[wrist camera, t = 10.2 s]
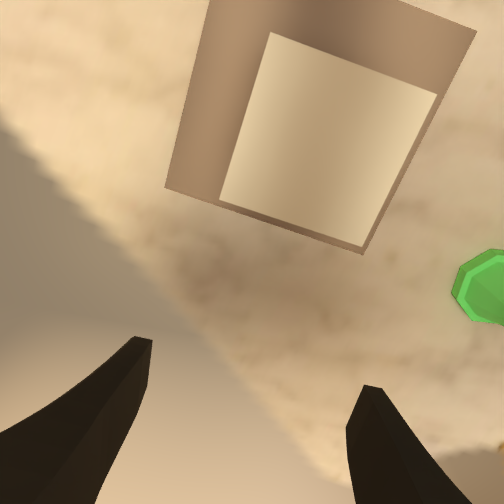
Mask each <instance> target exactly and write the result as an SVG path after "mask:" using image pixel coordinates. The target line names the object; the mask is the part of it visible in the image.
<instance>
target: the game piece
mask: <svg viewBox="0 0 504 504" xmlns="http://www.w3.org/2000/svg"><path fill="white" fill-rule="evenodd" d="M451 293H452V295H453V296H454V297H455V299H456V300H457V301H458V303H459V304H460V306H461V307H462V308H463V310H464V311H465V312H466V314H467V315H468V316H469V318H470V319H471V320H472V321H479V322H488V323H497V324H500V325H502V326H504V250H496V249H489V250H487V251H486V252H484V253H482V254H481V255H479V256H477V257H475V258H474V259H472V260H470V261H469V262H467V263H465V264H464V265H462V266H460V269H459V272H458V275H457V278H456V281H455V283H454V286H453V289H452V292H451Z"/></svg>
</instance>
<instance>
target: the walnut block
mask: <svg viewBox="0 0 504 504" xmlns="http://www.w3.org/2000/svg"><path fill="white" fill-rule="evenodd" d="M270 32H272V33H275V34H277V35H280V36H283V37H285V38H288V39H291V40H293V41H296V42H299V43H301V44H304V45H307V46H309V47H312V48H315V49H317V50H320V51H323V52H325V53H328V54H331V55H333V56H336V57H339V58H341V59H344V60H347V61H349V62H352V63H355V64H357V65H360V66H363V67H365V68H368V69H371V70H373V71H376V72H379V73H381V74H384V75H387V76H389V77H392V78H395V79H397V80H400V81H403V82H405V83H408V84H411V85H413V86H416V87H419V88H421V89H424V90H427V91H429V92H432V93H435V94H437V96H436V98H435V100H434V102H433V104H432V106H431V108H430V110H429V112H428V114H427V116H426V118H425V120H424V122H423V124H422V126H421V128H420V130H419V133H418V135H417V137H416V139H415V141H414V143H413V145H412V147H411V149H410V151H409V153H408V155H407V157H406V159H405V161H404V163H403V165H402V167H401V169H400V171H399V173H398V175H397V177H396V179H395V181H394V183H393V185H392V187H391V189H390V191H389V193H388V195H387V197H386V199H385V201H384V203H383V205H382V207H381V209H380V211H379V213H378V215H377V218H376V220H375V222H374V224H373V226H372V228H371V230H370V232H369V234H368V236H367V238H366V240H365V242H364V244H363V246H362V247H360V246H357V245H354V244H351V243H348V242H345V241H342V240H339V239H336V238H333V237H330V236H327V235H324V234H321V233H318V232H315V231H312V230H309V229H306V228H303V227H300V226H297V225H294V224H291V223H288V222H285V221H282V220H279V219H276V218H273V217H270V216H267V215H264V214H261V213H258V212H255V211H252V210H249V209H246V208H243V207H240V206H237V205H234V204H231V203H228V202H225V201H222V200H219V198H220V195H221V191H222V188H223V185H224V182H225V178H226V175H227V172H228V169H229V165H230V162H231V159H232V156H233V152H234V149H235V146H236V142H237V139H238V136H239V133H240V129H241V126H242V123H243V120H244V116H245V113H246V110H247V107H248V103H249V100H250V97H251V94H252V90H253V87H254V84H255V81H256V77H257V74H258V71H259V68H260V64H261V61H262V58H263V55H264V51H265V48H266V45H267V42H268V38H269V35H270ZM476 33H477V31H476V30H473V29H471V28H468V27H465V26H463V25H460V24H458V23H455V22H453V21H450V20H448V19H445V18H443V17H440V16H437V15H435V14H432V13H430V12H427V11H425V10H422V9H420V8H417V7H414V6H412V5H409V4H407V3H404V2H402V1H399V0H210V2H209V6H208V10H207V14H206V18H205V22H204V27H203V31H202V35H201V39H200V43H199V47H198V51H197V55H196V60H195V64H194V68H193V72H192V76H191V80H190V84H189V88H188V93H187V97H186V101H185V105H184V109H183V113H182V117H181V121H180V126H179V130H178V134H177V138H176V142H175V146H174V150H173V154H172V159H171V163H170V167H169V171H168V175H167V179H166V183H165V187H164V188H167V189H170V190H173V191H176V192H179V193H181V194H184V195H187V196H190V197H193V198H196V199H199V200H202V201H205V202H208V203H211V204H214V205H217V206H220V207H223V208H226V209H229V210H232V211H235V212H237V213H240V214H243V215H246V216H249V217H252V218H255V219H258V220H261V221H264V222H267V223H270V224H273V225H276V226H279V227H282V228H285V229H288V230H290V231H293V232H296V233H299V234H302V235H305V236H308V237H311V238H314V239H317V240H320V241H323V242H326V243H329V244H332V245H335V246H338V247H341V248H343V249H346V250H349V251H352V252H355V253H358V254H361V255H363V254H364V252H365V250H366V249H367V247H368V245H369V243H370V241H371V239H372V237H373V235H374V233H375V231H376V229H377V227H378V225H379V223H380V221H381V219H382V217H383V215H384V213H385V211H386V209H387V207H388V205H389V203H390V201H391V200H392V198H393V196H394V194H395V192H396V190H397V188H398V186H399V184H400V182H401V180H402V178H403V176H404V174H405V172H406V170H407V168H408V166H409V164H410V162H411V160H412V158H413V156H414V154H415V152H416V150H417V149H418V147H419V145H420V143H421V141H422V139H423V137H424V135H425V133H426V131H427V129H428V127H429V125H430V123H431V121H432V119H433V117H434V115H435V113H436V111H437V109H438V107H439V105H440V103H441V101H442V100H443V98H444V96H445V94H446V92H447V90H448V88H449V86H450V84H451V82H452V80H453V78H454V76H455V74H456V72H457V70H458V68H459V66H460V64H461V62H462V60H463V58H464V56H465V54H466V52H467V50H468V49H469V47H470V45H471V43H472V41H473V39H474V37H475V35H476Z"/></svg>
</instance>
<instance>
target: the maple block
mask: <svg viewBox="0 0 504 504" xmlns="http://www.w3.org/2000/svg"><path fill="white" fill-rule="evenodd" d="M436 96H437V94H435V93H432V92H429V91H427V90H424V89H421V88H419V87H416V86H413V85H411V84H408V83H405V82H403V81H400V80H397V79H395V78H392V77H389V76H387V75H384V74H381V73H379V72H376V71H373V70H371V69H368V68H365V67H363V66H360V65H357V64H355V63H352V62H349V61H347V60H344V59H341V58H339V57H336V56H333V55H331V54H328V53H325V52H323V51H320V50H317V49H315V48H312V47H309V46H307V45H304V44H301V43H299V42H296V41H293V40H291V39H288V38H285V37H283V36H280V35H277V34H275V33H272V32H270V35H269V38H268V42H267V45H266V48H265V51H264V55H263V58H262V61H261V64H260V68H259V71H258V74H257V77H256V81H255V84H254V87H253V90H252V94H251V97H250V100H249V103H248V107H247V110H246V113H245V116H244V120H243V123H242V126H241V129H240V133H239V136H238V139H237V142H236V146H235V149H234V152H233V156H232V159H231V162H230V165H229V169H228V172H227V175H226V178H225V182H224V185H223V188H222V191H221V195H220V198H219V200H222V201H225V202H228V203H231V204H234V205H237V206H240V207H243V208H246V209H249V210H252V211H255V212H258V213H261V214H264V215H267V216H270V217H273V218H276V219H279V220H282V221H285V222H288V223H291V224H294V225H297V226H300V227H303V228H306V229H309V230H312V231H315V232H318V233H321V234H324V235H327V236H330V237H333V238H336V239H339V240H342V241H345V242H348V243H351V244H354V245H357V246H360V247H362V246H363V244H364V242H365V240H366V238H367V236H368V234H369V232H370V230H371V228H372V226H373V224H374V222H375V220H376V218H377V215H378V213H379V211H380V209H381V207H382V205H383V203H384V201H385V199H386V197H387V195H388V193H389V191H390V189H391V187H392V185H393V183H394V181H395V179H396V177H397V175H398V173H399V171H400V169H401V167H402V165H403V163H404V161H405V159H406V157H407V155H408V153H409V151H410V149H411V147H412V145H413V143H414V141H415V139H416V137H417V135H418V133H419V130H420V128H421V126H422V124H423V122H424V120H425V118H426V116H427V114H428V112H429V110H430V108H431V106H432V104H433V102H434V100H435V98H436Z"/></svg>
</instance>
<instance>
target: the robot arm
mask: <svg viewBox="0 0 504 504" xmlns="http://www.w3.org/2000/svg"><path fill="white" fill-rule="evenodd" d="M151 349H152V340H150V339H145V338H141V337H136V336H134V337H132V338H131V339H130V340H129V341H128V342H127V343H126V344H124V346H122V348H120V349H119V350H118V351H117V352H116V353H115V354H114V355H113V356H112V357H110V358H109V359H108V360H107V361H106V362H105V363H103V364H102V365H101V366H100V367H99V368H97V369H96V370H95V371H94V372H93V373H91V374H90V375H89V376H88V377H86V378H85V379H84V380H82V381H81V382H80V383H78V384H77V385H76V386H74V387H73V388H72V389H70V390H69V391H68V392H66V393H65V394H63V395H62V396H61V397H59V398H58V399H56V400H55V401H53V402H52V403H50V404H49V405H47V406H46V407H44V408H42V409H41V410H39V411H38V412H36V413H34V414H33V415H31V416H29V417H27V418H26V419H24V420H22V421H21V422H19V423H17V424H15V425H14V426H12V427H10V428H8V429H6V430H4V431H2V432H1V433H0V504H95V501H96V499H97V496H98V494H99V491H100V489H101V487H102V485H103V483H104V480H105V478H106V476H107V474H108V472H109V470H110V468H111V466H112V464H113V462H114V460H115V458H116V456H117V454H118V452H119V449H120V448H121V446H122V444H123V442H124V440H125V438H126V436H127V434H128V432H129V430H130V428H131V426H132V423H133V421H134V419H135V417H136V415H137V413H138V410H139V407H140V404H141V402H142V399H143V396H144V393H145V391H146V388H147V382H148V375H149V366H150V358H151ZM346 444H347V458H348V464H349V470H350V475H351V481H352V486H353V492H354V497H355V502H356V504H472V503H471V502H470V501H469V500H468V499H467V498H466V497H465V495H464V494H463V493H462V492H461V491H460V490H459V489H458V488H457V487H456V486H455V484H454V483H453V482H452V481H451V480H450V479H449V477H448V476H447V475H446V474H445V473H444V471H443V470H442V469H441V468H440V467H439V465H438V464H437V463H436V462H435V460H434V459H433V458H432V457H431V455H430V454H429V453H428V452H427V450H426V449H425V448H424V446H423V445H422V444H421V442H420V441H419V440H418V438H417V437H416V436H415V434H414V433H413V431H412V430H411V429H410V427H409V426H408V425H407V423H406V422H405V420H404V419H403V417H402V416H401V415H400V413H399V412H398V410H397V409H396V407H395V406H394V405H393V403H392V402H391V400H390V399H389V397H388V396H387V395H386V393H385V392H384V391H383V389H382V388H378V387H373V386H368V385H364V386H363V389H362V391H361V393H360V395H359V398H358V400H357V402H356V405H355V407H354V409H353V412H352V414H351V416H350V419H349V421H348V423H347V425H346Z"/></svg>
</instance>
